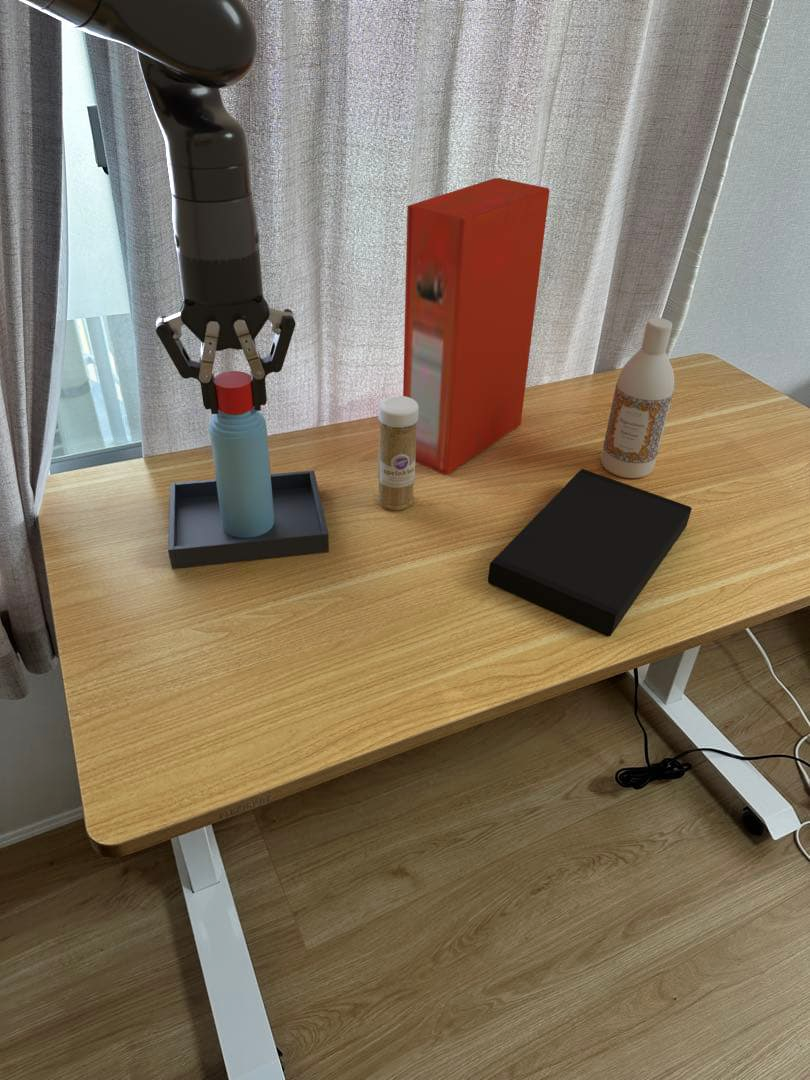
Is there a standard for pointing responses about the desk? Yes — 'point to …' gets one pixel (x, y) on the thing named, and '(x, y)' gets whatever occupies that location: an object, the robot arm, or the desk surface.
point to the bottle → (242, 473)
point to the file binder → (470, 315)
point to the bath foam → (640, 406)
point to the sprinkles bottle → (397, 451)
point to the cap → (234, 392)
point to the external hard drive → (590, 550)
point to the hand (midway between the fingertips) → (235, 408)
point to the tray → (207, 543)
